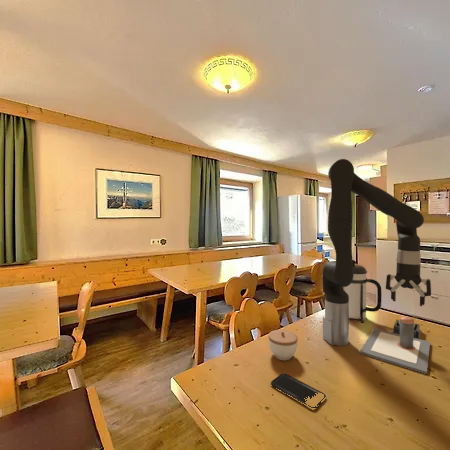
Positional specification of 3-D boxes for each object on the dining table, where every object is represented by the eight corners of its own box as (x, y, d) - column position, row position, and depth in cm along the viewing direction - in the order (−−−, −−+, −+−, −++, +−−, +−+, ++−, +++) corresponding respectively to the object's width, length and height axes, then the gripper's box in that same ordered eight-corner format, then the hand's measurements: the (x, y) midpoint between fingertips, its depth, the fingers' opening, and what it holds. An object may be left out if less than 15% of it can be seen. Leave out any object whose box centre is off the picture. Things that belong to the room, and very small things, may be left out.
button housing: (419, 339, 107) (420, 332, 107) (391, 332, 114) (391, 325, 114) (421, 331, 115) (421, 324, 115) (395, 325, 121) (395, 318, 121)
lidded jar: (297, 350, 100) (297, 326, 100) (297, 366, 89) (297, 339, 89) (269, 347, 103) (269, 324, 102) (267, 361, 92) (267, 336, 92)
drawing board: (426, 374, 84) (426, 370, 84) (360, 353, 97) (360, 350, 97) (430, 344, 104) (430, 341, 104) (374, 330, 117) (374, 327, 117)
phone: (283, 372, 85) (327, 395, 74) (283, 375, 85) (327, 398, 74) (269, 382, 79) (313, 409, 68) (269, 386, 79) (313, 413, 68)
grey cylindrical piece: (406, 349, 97) (407, 321, 97) (396, 343, 102) (396, 316, 101) (416, 348, 98) (417, 320, 98) (406, 342, 103) (406, 315, 102)
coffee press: (349, 325, 122) (350, 263, 121) (331, 313, 138) (331, 258, 137) (382, 323, 124) (383, 262, 123) (360, 311, 140) (360, 257, 139)
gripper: (432, 262, 97) (431, 305, 97) (388, 258, 106) (387, 297, 106) (431, 265, 91) (430, 310, 91) (385, 260, 100) (384, 301, 101)
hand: (407, 303), depth 99 cm, fingers open, 8 cm apart
